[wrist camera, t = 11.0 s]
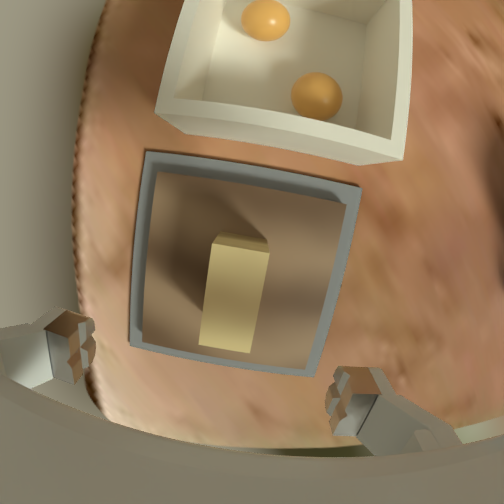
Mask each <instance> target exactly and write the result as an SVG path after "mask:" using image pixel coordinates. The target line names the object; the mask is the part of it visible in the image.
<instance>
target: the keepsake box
mask: <svg viewBox="0 0 504 504" xmlns="http://www.w3.org/2000/svg"><path fill="white" fill-rule="evenodd" d="M253 1H255V0H185V1H184V4H183V7H182V10H181V13H180V16H179V19H178V22H177V25H176V29H175V32H174V35H173V39H172V42H171V46H170V49H169V53H168V57H167V61H166V64H165V68H164V72H163V76H162V80H161V84H160V89H159V93H158V97H157V102H156V106H155V111H154V113H155V114H156V115H158V116H159V117H161V118H162V119H164V120H165V121H167V122H168V123H170V124H171V125H173V126H174V127H176V128H177V129H179V130H180V131H182V132H183V133H185V134H190V135H198V136H206V137H213V138H221V139H228V140H234V141H241V142H247V143H253V144H259V145H265V146H270V147H276V148H281V149H286V150H291V151H296V152H301V153H306V154H310V155H315V156H320V157H324V158H328V159H333V160H337V161H341V162H345V163H349V164H353V165H357V166H360V165H368V164H375V163H383V162H391V161H400V160H403V155H404V147H405V140H406V132H407V123H408V113H409V102H410V89H411V73H412V42H413V22H412V0H275V1H278V2H280V3H281V4H282V5H283V6H285V8H286V9H287V10H288V12H289V15H290V26H289V29H288V30H287V32H286V33H285V34H284V35H283V36H282V37H280V38H279V39H276V40H274V41H259V40H256V39H253V38H252V37H250V36H249V35H248V34H247V33H246V32H245V31H244V29H243V27H242V24H241V15H242V12H243V10H244V9H245V7H246V6H247V5H248V4H250V3H251V2H253ZM311 72H320V73H324V74H327V75H329V76H330V77H332V78H333V79H334V80H335V81H336V82H337V83H338V84H339V86H340V88H341V91H342V96H343V100H342V105H341V108H340V109H339V111H338V112H337V114H335V115H334V116H333V117H332V118H330V119H328V120H324V121H319V120H315V119H310V118H306V117H303V116H301V115H300V114H299V113H298V112H297V111H296V110H295V108H294V106H293V104H292V101H291V90H292V87H293V85H294V83H295V82H296V80H297V79H298V78H300V77H301V76H303V75H305V74H307V73H311Z"/></svg>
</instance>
